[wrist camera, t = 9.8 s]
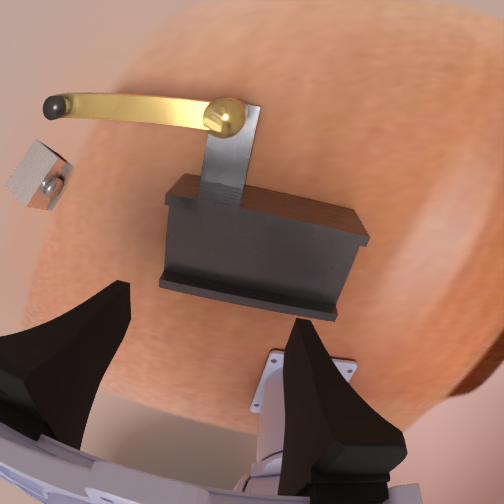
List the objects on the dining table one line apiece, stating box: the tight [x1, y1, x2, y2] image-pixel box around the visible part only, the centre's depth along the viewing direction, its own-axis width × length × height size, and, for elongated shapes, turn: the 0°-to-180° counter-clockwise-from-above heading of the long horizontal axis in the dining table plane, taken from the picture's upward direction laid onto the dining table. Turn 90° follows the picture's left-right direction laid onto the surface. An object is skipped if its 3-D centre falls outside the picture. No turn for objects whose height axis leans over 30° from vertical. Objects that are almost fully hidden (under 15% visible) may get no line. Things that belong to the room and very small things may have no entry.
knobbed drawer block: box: [5, 139, 74, 211], centre depth 20 cm, size 4×5×3 cm
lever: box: [43, 93, 247, 139], centre depth 13 cm, size 10×2×2 cm, turn 80°
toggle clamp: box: [159, 99, 370, 322], centre depth 18 cm, size 11×11×4 cm
